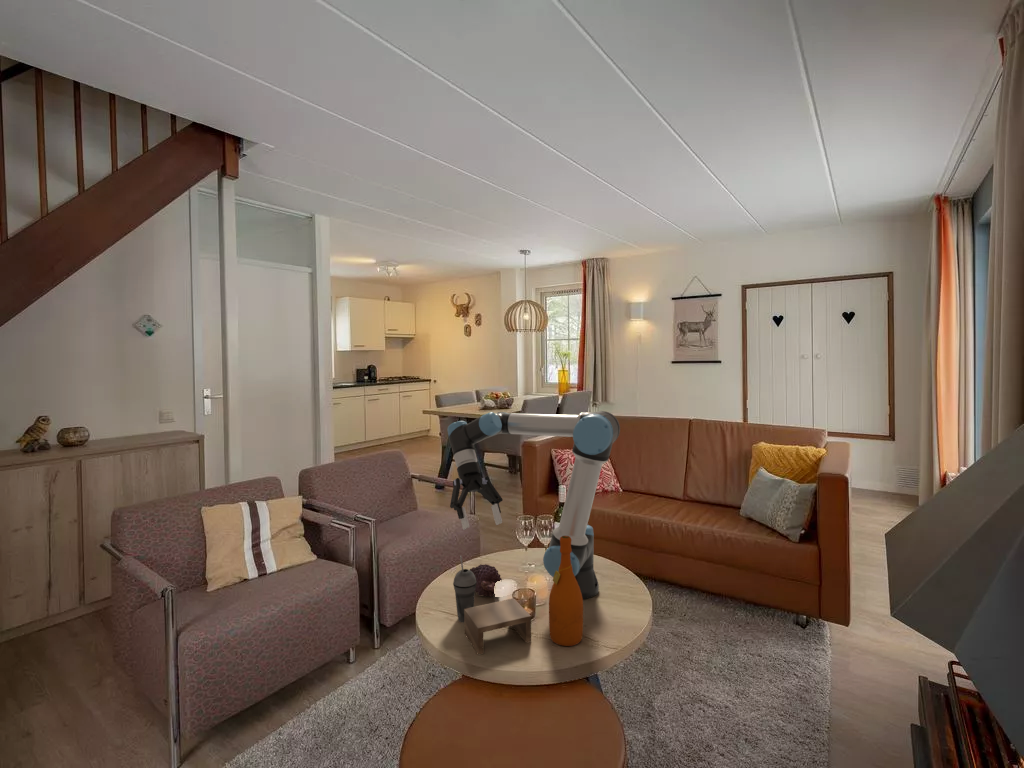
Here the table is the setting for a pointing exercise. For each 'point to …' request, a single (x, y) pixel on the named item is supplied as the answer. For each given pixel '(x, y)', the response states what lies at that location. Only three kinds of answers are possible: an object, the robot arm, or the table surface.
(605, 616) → the table surface
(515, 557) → the table surface
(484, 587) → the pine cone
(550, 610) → the wine bottle
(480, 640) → the walnut shelf
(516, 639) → the table surface
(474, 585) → the beverage cup
